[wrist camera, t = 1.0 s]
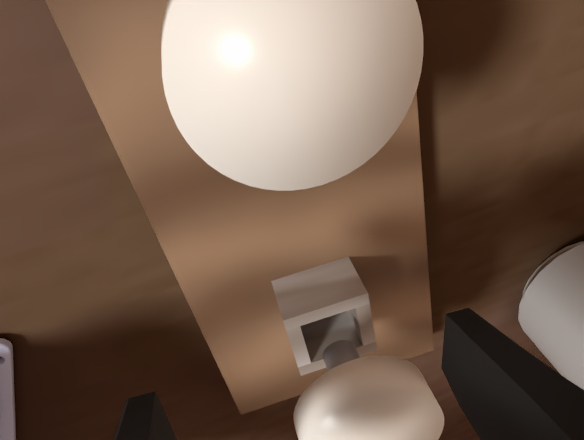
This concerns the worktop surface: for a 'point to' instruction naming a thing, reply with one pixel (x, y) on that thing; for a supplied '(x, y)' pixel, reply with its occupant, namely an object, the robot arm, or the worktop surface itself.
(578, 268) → the can
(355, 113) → the plunger
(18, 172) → the worktop surface
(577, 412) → the robot arm
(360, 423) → the plunger
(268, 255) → the stand
